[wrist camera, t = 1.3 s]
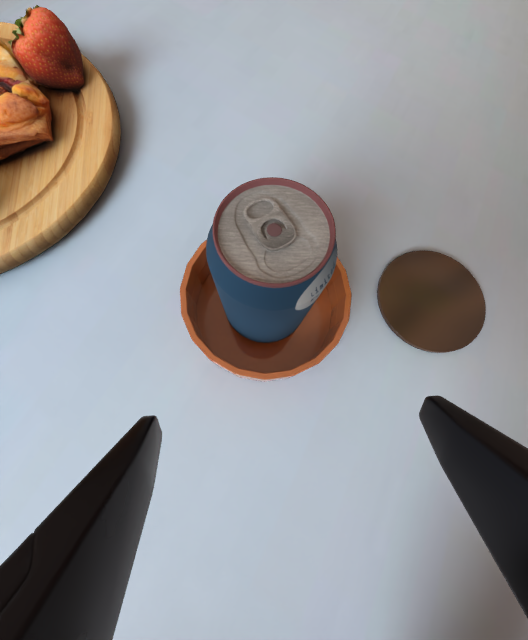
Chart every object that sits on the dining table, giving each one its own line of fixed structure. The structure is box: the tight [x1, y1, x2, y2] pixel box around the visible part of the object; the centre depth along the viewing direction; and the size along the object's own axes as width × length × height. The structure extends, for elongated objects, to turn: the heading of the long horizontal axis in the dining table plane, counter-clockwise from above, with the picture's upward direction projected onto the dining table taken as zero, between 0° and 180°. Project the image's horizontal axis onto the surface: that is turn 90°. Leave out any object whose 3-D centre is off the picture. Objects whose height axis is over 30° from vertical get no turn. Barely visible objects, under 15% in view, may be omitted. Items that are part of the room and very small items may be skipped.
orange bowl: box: [180, 240, 351, 382], centre depth 22 cm, size 13×13×4 cm
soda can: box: [206, 178, 337, 343], centre depth 18 cm, size 7×7×12 cm
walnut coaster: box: [377, 251, 485, 353], centre depth 25 cm, size 10×10×1 cm
